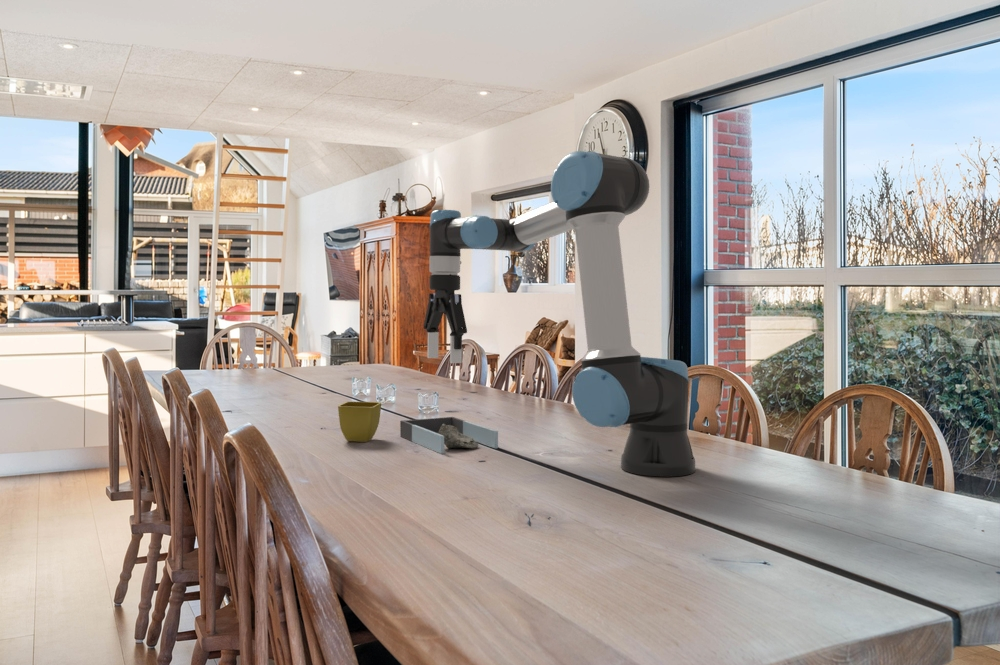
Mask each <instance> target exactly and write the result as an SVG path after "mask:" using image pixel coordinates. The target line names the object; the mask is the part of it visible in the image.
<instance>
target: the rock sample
mask: <svg viewBox="0 0 1000 665" xmlns="http://www.w3.org/2000/svg"><path fill="white" fill-rule="evenodd" d="M440 428H441V429H440V430H439V432H438V433H439V434H441V435H443V436H444V446H445V447H446V448H448V449H453V448H457V449H477V448H478V446H479V443H478V442H477V441H474V440H473V438H470V437H468V436H466V435H463V434H461V433H460V432H459V430H458V428H457V427H454V426H451V425H447V426H446V425H445V424H442V426H441V427H440Z"/></svg>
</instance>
